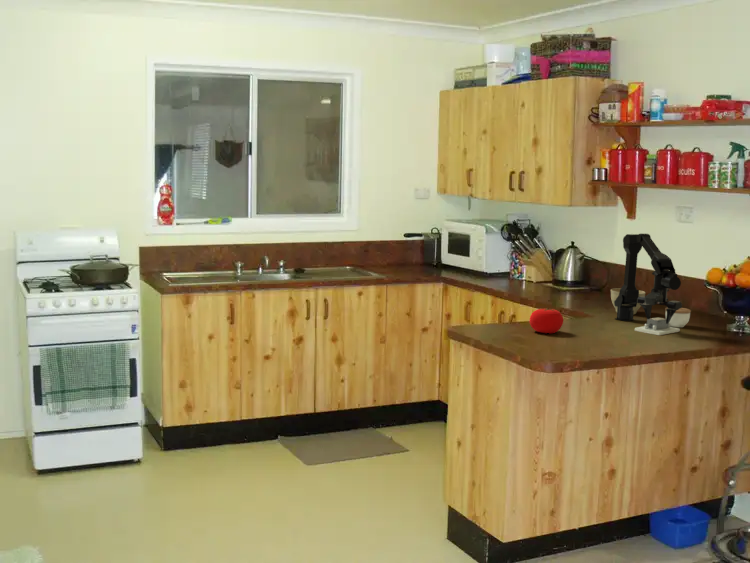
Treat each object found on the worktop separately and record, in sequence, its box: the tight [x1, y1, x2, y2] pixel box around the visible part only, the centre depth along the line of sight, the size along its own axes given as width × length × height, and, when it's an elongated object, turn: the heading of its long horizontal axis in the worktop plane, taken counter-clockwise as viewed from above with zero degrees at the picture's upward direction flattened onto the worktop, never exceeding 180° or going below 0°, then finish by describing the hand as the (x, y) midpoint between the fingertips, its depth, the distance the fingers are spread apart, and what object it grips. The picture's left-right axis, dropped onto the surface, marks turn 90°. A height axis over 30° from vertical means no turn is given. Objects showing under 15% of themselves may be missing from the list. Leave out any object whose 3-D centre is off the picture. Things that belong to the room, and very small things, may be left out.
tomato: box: [528, 307, 564, 335], centre depth 383 cm, size 14×13×10 cm
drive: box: [646, 317, 668, 330], centre depth 395 cm, size 5×8×4 cm, turn 128°
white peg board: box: [634, 323, 681, 336], centre depth 395 cm, size 12×16×3 cm
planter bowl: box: [610, 287, 646, 315], centre depth 440 cm, size 16×16×11 cm
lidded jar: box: [664, 306, 692, 328], centre depth 409 cm, size 11×11×9 cm
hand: (657, 322), depth 395 cm, fingers open, 9 cm apart
